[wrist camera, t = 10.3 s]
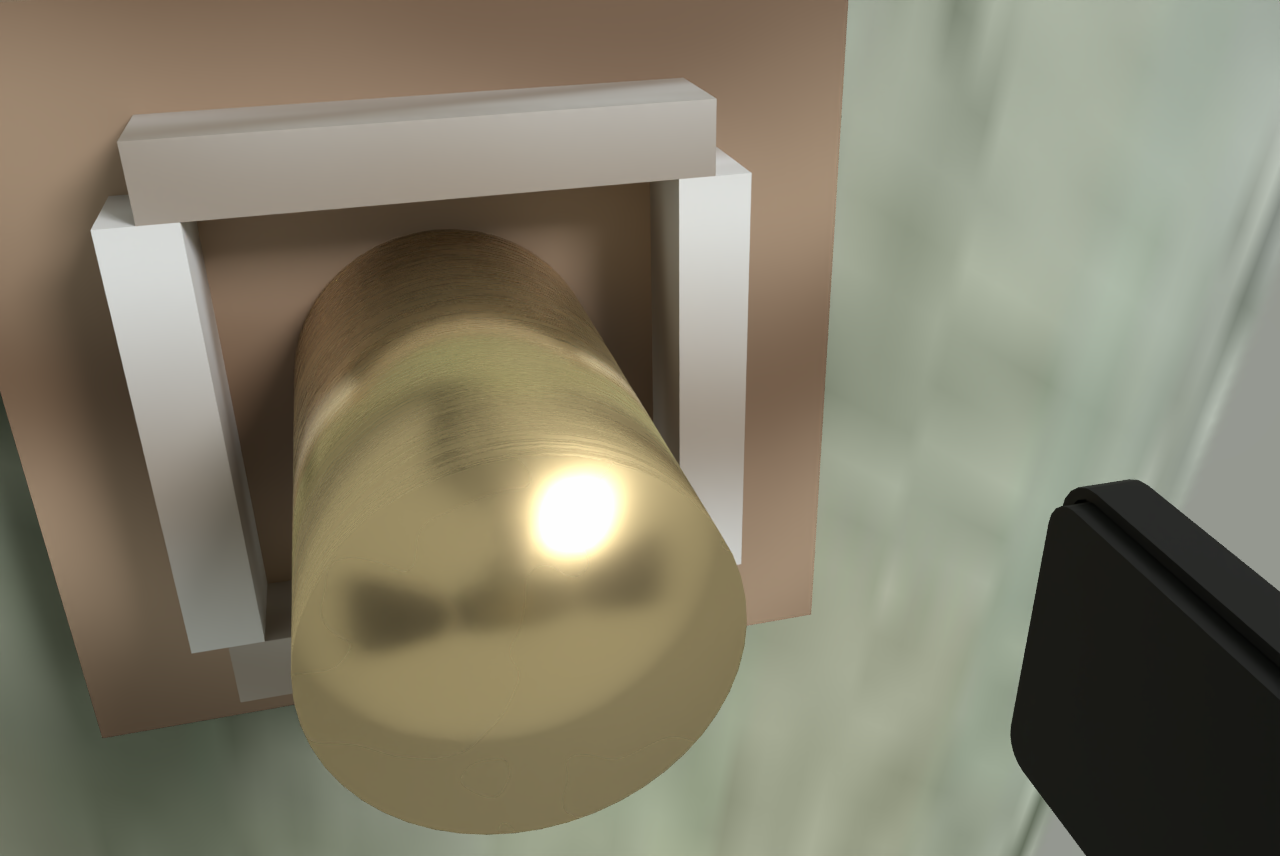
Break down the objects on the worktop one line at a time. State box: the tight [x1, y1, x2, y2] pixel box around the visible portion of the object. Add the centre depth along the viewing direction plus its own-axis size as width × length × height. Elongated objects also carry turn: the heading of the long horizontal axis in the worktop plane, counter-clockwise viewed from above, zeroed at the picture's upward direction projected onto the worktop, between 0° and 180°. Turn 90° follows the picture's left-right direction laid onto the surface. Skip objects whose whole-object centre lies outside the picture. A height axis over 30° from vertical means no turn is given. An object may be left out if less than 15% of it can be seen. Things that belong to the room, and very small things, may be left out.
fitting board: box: [0, 0, 848, 738], centre depth 17 cm, size 11×12×3 cm
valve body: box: [291, 229, 747, 835], centre depth 14 cm, size 4×4×7 cm
